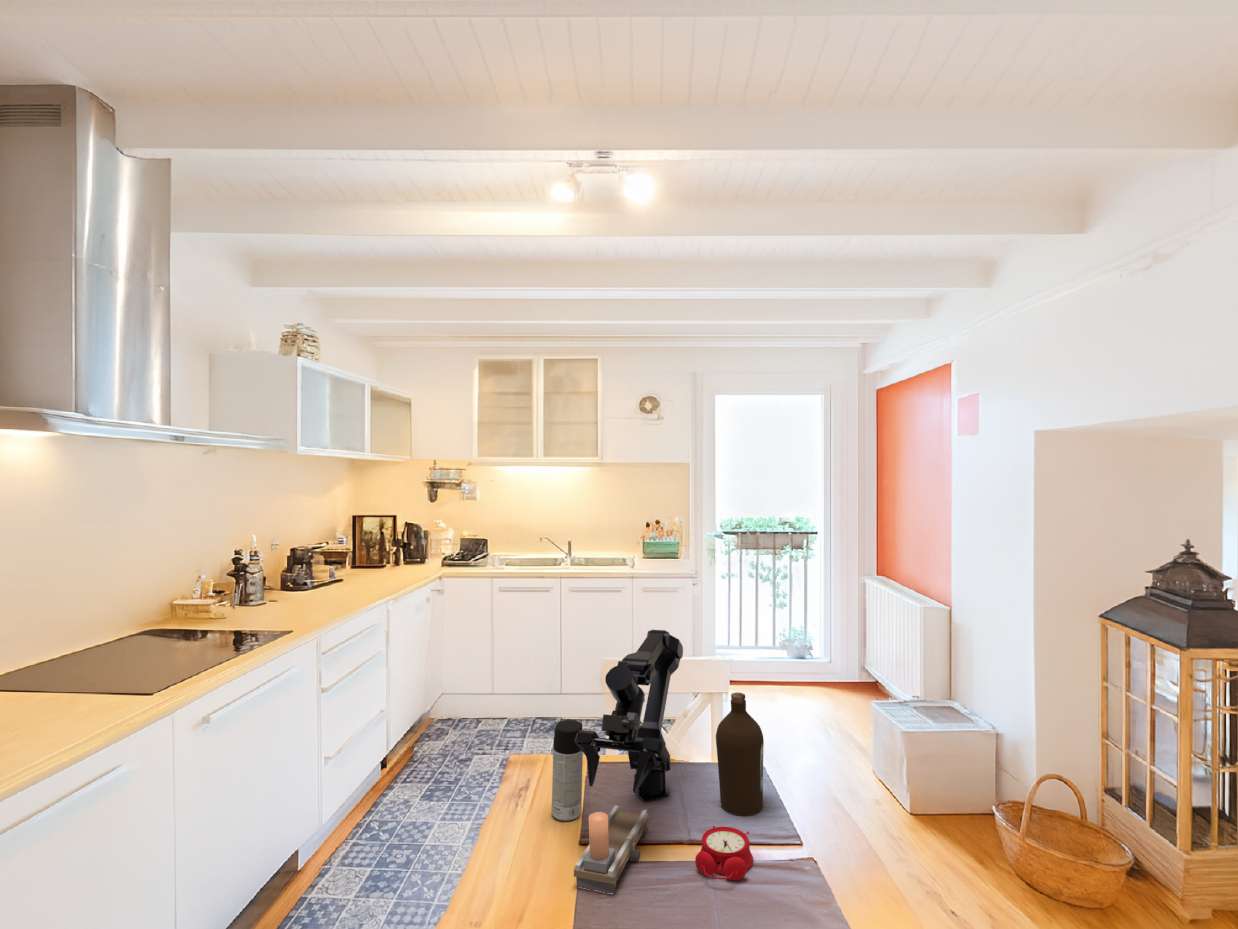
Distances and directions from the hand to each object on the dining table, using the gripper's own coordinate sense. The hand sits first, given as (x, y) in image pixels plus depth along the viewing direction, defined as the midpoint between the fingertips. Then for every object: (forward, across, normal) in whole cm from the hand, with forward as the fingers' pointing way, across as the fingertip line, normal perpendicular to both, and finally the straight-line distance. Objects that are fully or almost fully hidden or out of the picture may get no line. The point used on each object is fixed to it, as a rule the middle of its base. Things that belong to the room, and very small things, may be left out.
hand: (612, 789), depth 129 cm
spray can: (+1, -16, +18) cm, 24 cm away
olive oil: (-9, +21, +28) cm, 37 cm away
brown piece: (+10, 0, +10) cm, 14 cm away
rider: (+13, 0, +1) cm, 13 cm away
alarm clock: (+7, +21, +12) cm, 26 cm away
